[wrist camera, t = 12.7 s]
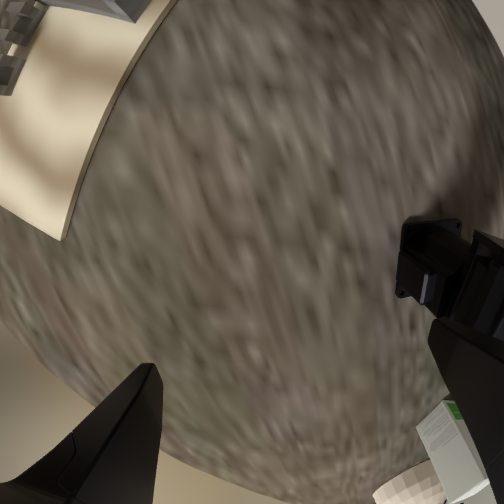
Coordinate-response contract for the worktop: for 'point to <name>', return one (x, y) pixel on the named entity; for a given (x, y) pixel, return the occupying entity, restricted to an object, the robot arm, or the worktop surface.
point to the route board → (63, 96)
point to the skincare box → (452, 452)
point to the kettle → (413, 487)
